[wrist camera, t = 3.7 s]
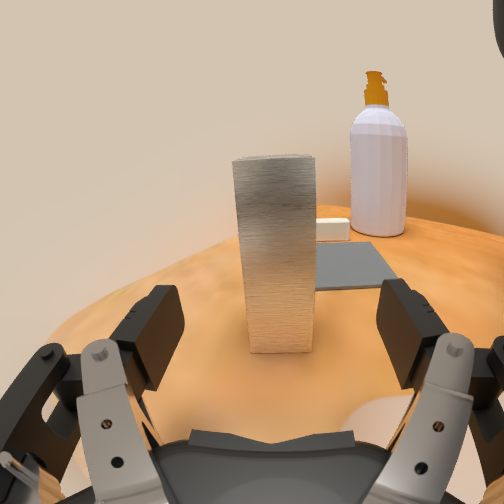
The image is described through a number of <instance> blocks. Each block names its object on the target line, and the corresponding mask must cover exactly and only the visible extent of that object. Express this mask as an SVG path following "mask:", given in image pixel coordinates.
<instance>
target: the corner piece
mask: <svg viewBox="0 0 504 504" xmlns="http://www.w3.org/2000/svg"><path fill="white" fill-rule="evenodd" d="M349 235H350V222H349V220H348V219H347V218H327V219H316V241H348V240H349Z"/></svg>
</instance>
